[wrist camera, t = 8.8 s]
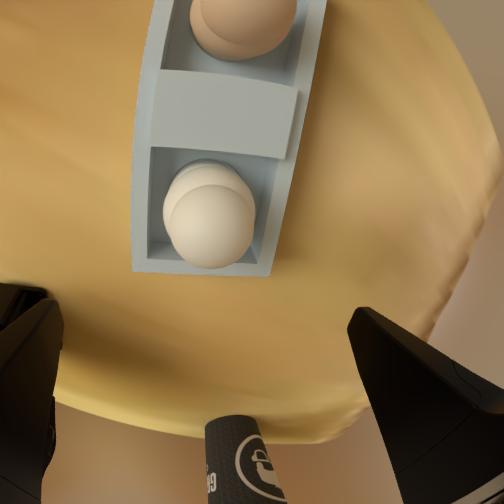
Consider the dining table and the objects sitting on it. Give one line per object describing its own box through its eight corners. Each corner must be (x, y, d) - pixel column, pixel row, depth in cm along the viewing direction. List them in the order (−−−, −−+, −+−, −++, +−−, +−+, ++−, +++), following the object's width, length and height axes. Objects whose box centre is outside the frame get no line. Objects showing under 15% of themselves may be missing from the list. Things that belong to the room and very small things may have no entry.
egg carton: (260, 255, 20) (272, 284, 18) (137, 249, 18) (130, 279, 15) (312, -12, 12) (337, -29, 9) (173, -36, 10) (170, -61, 7)
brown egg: (268, 70, 14) (311, 60, 9) (183, 58, 13) (178, 37, 7) (281, 0, 12) (329, -38, 6) (198, -14, 11) (204, -65, 5)
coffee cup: (199, 407, 29) (219, 535, 16) (279, 408, 32) (314, 519, 19) (187, 440, 33) (201, 540, 20) (254, 440, 36) (278, 531, 23)
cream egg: (251, 160, 16) (283, 197, 11) (239, 232, 19) (261, 294, 13) (169, 153, 15) (158, 187, 10) (164, 228, 17) (156, 291, 12)
